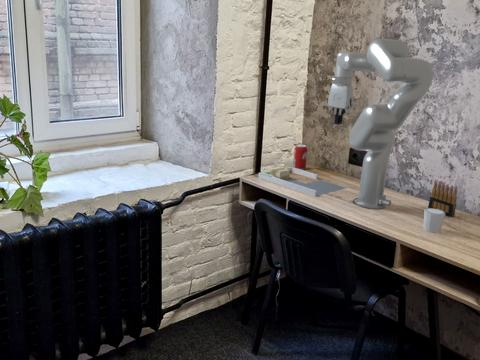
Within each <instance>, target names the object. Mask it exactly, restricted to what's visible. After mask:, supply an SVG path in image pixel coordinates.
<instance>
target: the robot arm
mask: <svg viewBox="0 0 480 360" xmlns="http://www.w3.org/2000/svg"><path fill="white" fill-rule="evenodd" d="M409 53H410V48H409V46H408V44H407V43H406V42H405V41H403V40H400V39H394V38H393V39H391V38H376V39H373V41H372V42H370V44H369V46H368V48H367V52H357V51H339V52H338V53H337V56H336V63H335V70H334V72H335V73H334V77H333V78H332V81H333V83H332V84H331V86H330V90H329V93H328V99H327V106H328V108H329V109H330V110H332V112H333V114H334V124H335V125H341V124H343V123H342V122H343V117H344V116H345V114H346V113H351V111H352V110H351V109H352V106H353V100H354V90H353V89H354V86H353V84H352V83H353V76H354V72H374V71H377V73H378V74H379V76H380V77H381V79H382V80H384V81H386V82H388V83H397V84H404V85H403V86H402V87H400V88H399V89H397V91H395V93H393V95H392V96H391V98H390V100H389V101H388V102H387V103H383V104H376V103H374V104H370V105H368V106H366V107H365V108H364V109H363V110H362V112H361V113H360V115H359V117H358V118H357V120H356V121H355V123H354V125H353V126H352V128H351V130H350V132H349V137H348V142H349V143H348V144H349V146H350V147H351V148H352V149H353V150H355V151H361V152H362V151H367V152H366V153H365V155H364V157H363V161H362V167H361V175H360V182H359V189H358V196H357V197H356V198H353V203H354V204H355V205H357V206H359V207H362V208H365V209H372V210H373V209H374V210H378V209H379V210H380V209H384V208H386V207H391V204H392V200H390V199H387V197H386V196H387V195H386V194H385V193H384V192H385V185H386V180H387V172H388V169H389V167H388V166H389V161H390V156H391V152H392V149H393V147H394V143H395V140H396V134H395V132H394V131H396V130H398V129H400V128H401V127H402V126H403V125H404V123H405V121H407V118H408V117H409V116H410V114H411V113H412V111H413V110H414V109H415V107H416V106H417V105H418V103H419V102H420V101H421V100H422V99H423V97H425V95H426V94H427V92H428V91H429V89H430V87H431V85H432V82H433V75H434V74H433V67H432V65H431V64H430V63H429V62H428V61H426V60H424V59H420V58H413V57H408V56H409Z"/></svg>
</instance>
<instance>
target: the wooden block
mask: <svg viewBox="0 0 480 360" xmlns="http://www.w3.org/2000/svg"><path fill="white" fill-rule="evenodd" d="M285 168H286V167H282V166H279V167H272V168H270V170H269V171H270V175H272V177H275V178H279V179H282V180H285V179H290V174H289V172H290V170H288V169H285Z"/></svg>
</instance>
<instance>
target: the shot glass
mask: <svg viewBox="0 0 480 360" xmlns="http://www.w3.org/2000/svg"><path fill="white" fill-rule="evenodd" d="M423 211H424V213H423V226H422V229H423V230H424V231H426V232H429V233H433V234H434V233H435V234H436V233H437V234H439V233H440V232H441V230H442V226H443V223H444V220H445V216H446V215H445V212H444V211H442V210H439V209H435V208H428V207H426V208H424V210H423Z"/></svg>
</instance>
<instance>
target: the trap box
mask: <svg viewBox="0 0 480 360" xmlns="http://www.w3.org/2000/svg"><path fill="white" fill-rule="evenodd" d="M284 168H285V169H288V170H290V172H289V175H291V174H295V175H298V176H296V177H292V178H290V177H289V179H285V180H282V179H279V178H275V177H272V175H270V171H271V170H268V171H267V170H266V171H261V172H258V177H257V180H259V181H260V180H265V181H268V182H271V183H275V184H277V185H279V186H283V187H287V188H290V189H293V190H295V191H299V192H301V193H304V194H308V195H310V196H313V197H317V196H321V195H326V194H328V193H332V192H336V191H341V190H344V189H347V186H346V187H345V186H342V185H339V184H336V183H332V182H329V181H327V180H322V179H318V177H319V174H318V173H313V172H310V171H306V170H305V169H304V170H300V169H297V168H293V166H289V167H284ZM303 177H305V178H308V179H310V180H315V181H310V182H306V183H304V182H301V181H300V180H299V181H298V180H296V179H300V178H303Z"/></svg>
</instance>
